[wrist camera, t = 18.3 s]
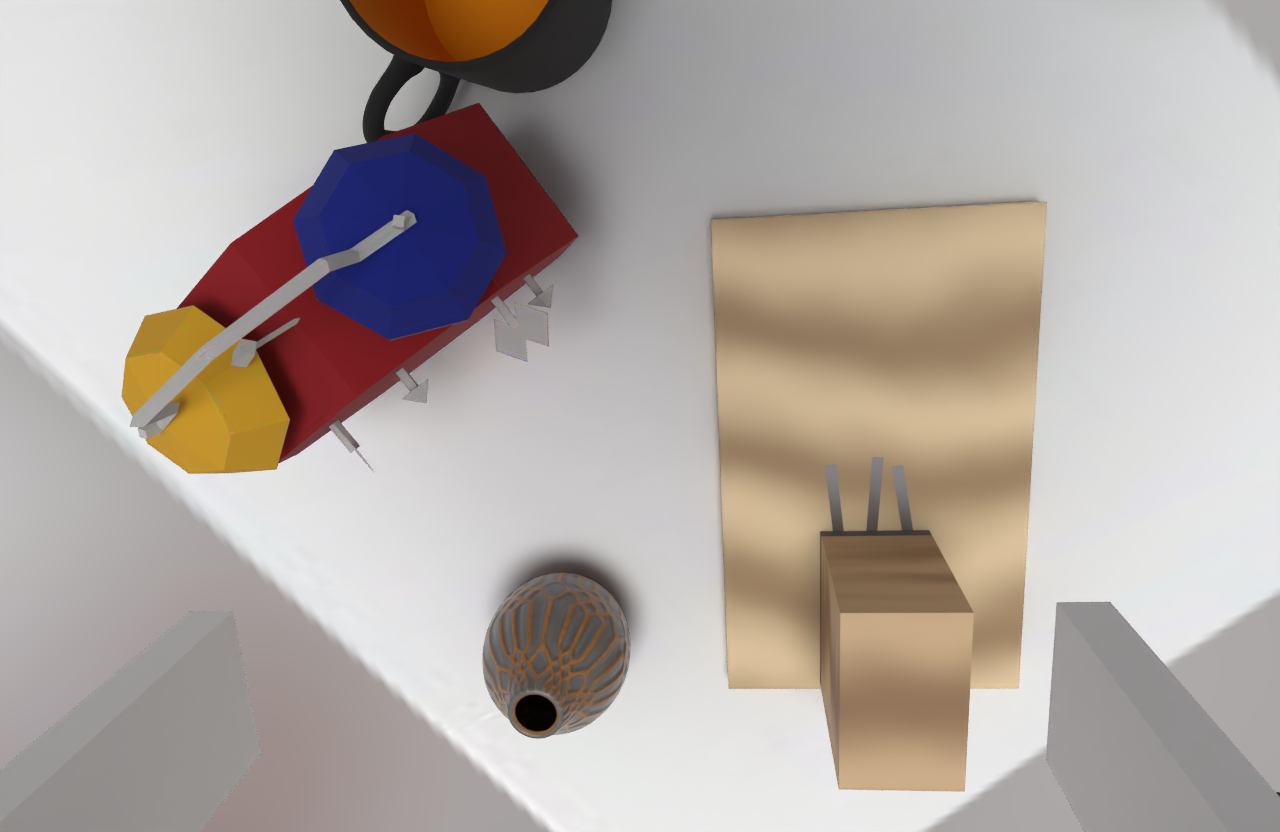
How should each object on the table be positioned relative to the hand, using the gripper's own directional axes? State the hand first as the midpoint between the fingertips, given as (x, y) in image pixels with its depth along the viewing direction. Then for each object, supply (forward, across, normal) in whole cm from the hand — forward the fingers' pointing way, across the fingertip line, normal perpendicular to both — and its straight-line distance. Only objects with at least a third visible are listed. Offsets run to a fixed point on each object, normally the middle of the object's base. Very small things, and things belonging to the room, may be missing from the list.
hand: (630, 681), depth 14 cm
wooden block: (+28, +8, -13) cm, 31 cm away
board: (+29, +8, -6) cm, 30 cm away
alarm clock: (+29, -11, +3) cm, 31 cm away
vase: (+29, -7, -14) cm, 33 cm away
